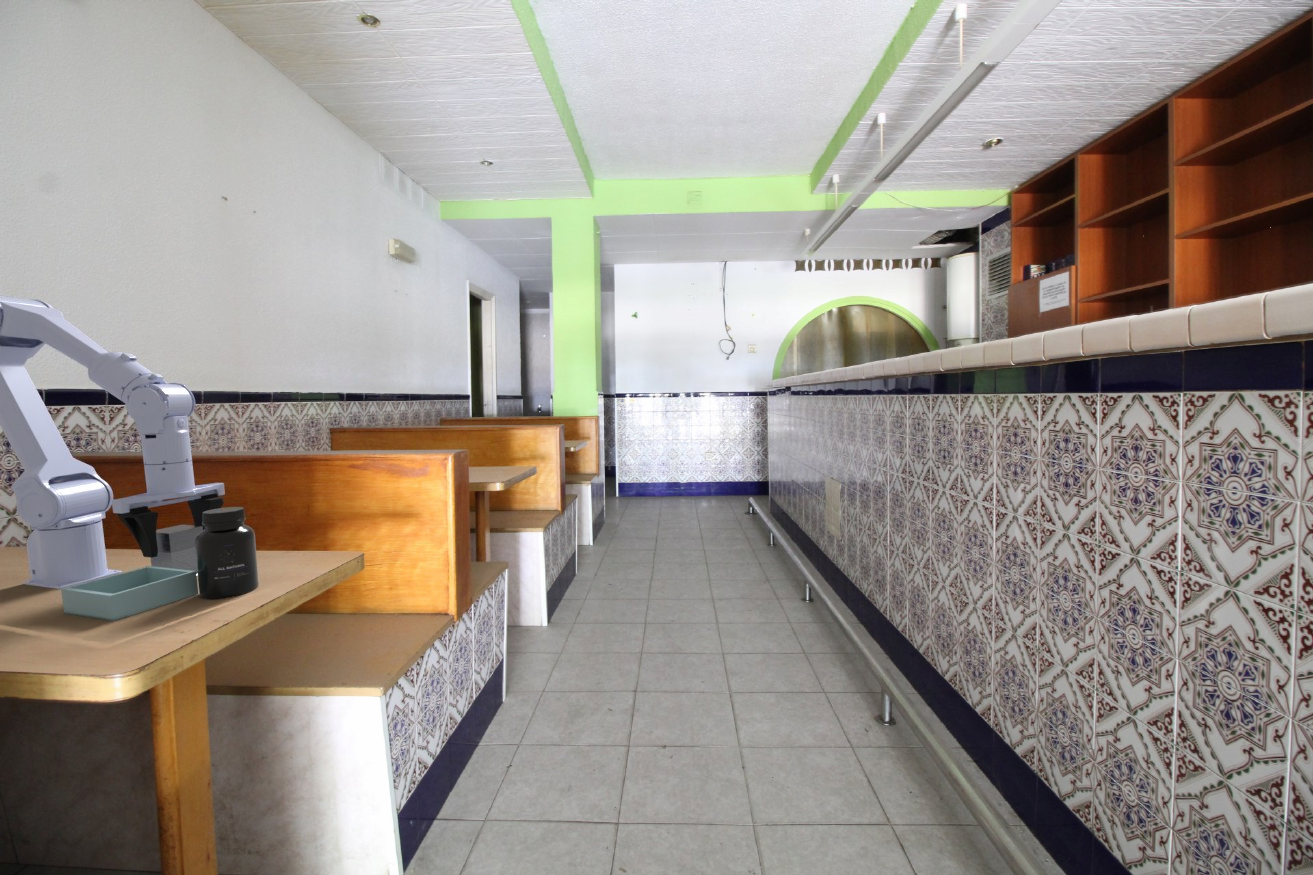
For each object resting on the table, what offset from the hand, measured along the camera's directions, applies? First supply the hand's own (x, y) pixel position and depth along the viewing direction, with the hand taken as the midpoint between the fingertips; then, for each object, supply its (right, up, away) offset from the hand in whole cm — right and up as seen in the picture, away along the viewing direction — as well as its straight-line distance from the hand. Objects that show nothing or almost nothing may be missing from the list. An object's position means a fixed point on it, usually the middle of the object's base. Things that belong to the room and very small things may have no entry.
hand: (178, 549), depth 92 cm
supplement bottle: (+14, -5, -8) cm, 17 cm away
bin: (+4, -5, -12) cm, 14 cm away
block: (0, -4, 0) cm, 4 cm away
